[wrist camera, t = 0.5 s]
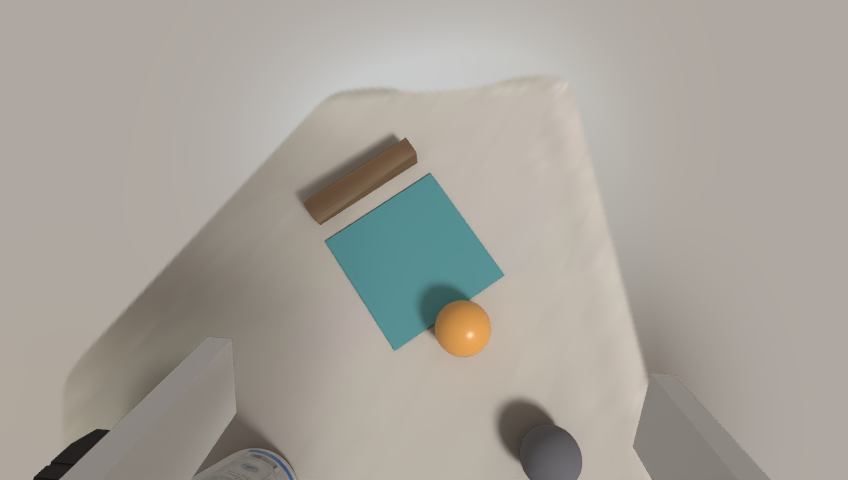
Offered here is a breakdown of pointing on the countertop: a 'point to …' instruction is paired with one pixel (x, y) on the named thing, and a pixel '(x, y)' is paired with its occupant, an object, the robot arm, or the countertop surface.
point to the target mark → (413, 260)
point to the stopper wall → (361, 181)
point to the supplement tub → (249, 467)
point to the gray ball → (550, 454)
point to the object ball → (462, 328)
